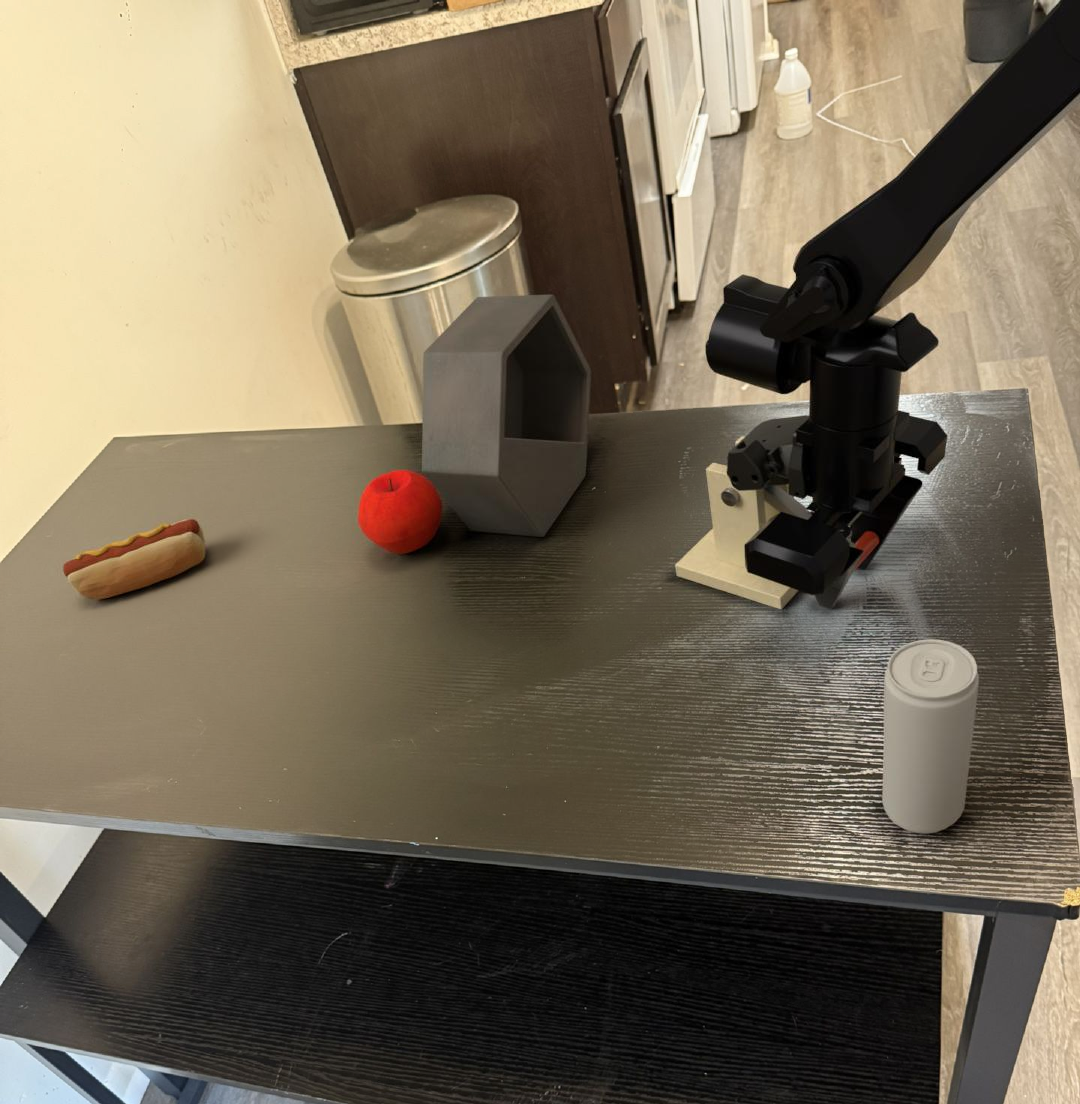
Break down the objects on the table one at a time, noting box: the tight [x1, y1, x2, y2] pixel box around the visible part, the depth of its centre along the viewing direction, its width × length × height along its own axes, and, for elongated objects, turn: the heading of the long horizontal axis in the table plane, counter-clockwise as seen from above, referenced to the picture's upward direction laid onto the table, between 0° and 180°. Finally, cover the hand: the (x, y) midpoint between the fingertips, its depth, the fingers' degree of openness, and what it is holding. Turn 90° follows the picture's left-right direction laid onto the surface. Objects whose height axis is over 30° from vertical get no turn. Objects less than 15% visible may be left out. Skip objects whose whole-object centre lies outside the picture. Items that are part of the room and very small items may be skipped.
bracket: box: [674, 435, 800, 610], centre depth 80 cm, size 10×9×10 cm
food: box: [62, 518, 207, 601], centre depth 101 cm, size 14×6×5 cm, turn 106°
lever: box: [763, 485, 879, 573], centre depth 77 cm, size 12×5×2 cm, turn 49°
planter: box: [421, 294, 592, 538], centre depth 91 cm, size 17×8×21 cm
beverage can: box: [881, 638, 980, 835], centre depth 58 cm, size 5×5×12 cm
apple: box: [357, 469, 443, 555], centre depth 94 cm, size 8×8×7 cm
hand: (843, 586), depth 79 cm, fingers open, 5 cm apart
